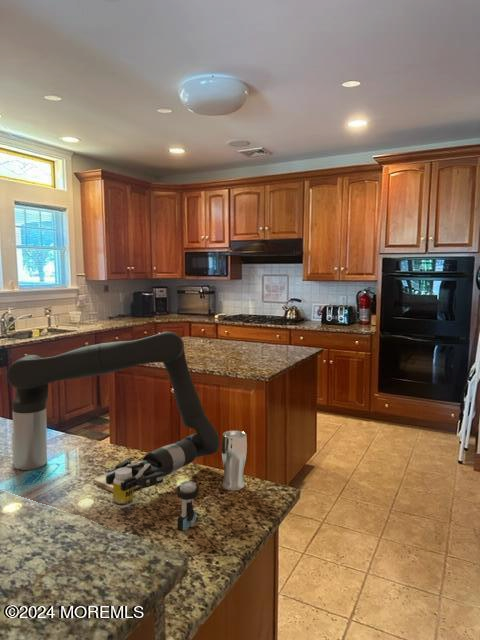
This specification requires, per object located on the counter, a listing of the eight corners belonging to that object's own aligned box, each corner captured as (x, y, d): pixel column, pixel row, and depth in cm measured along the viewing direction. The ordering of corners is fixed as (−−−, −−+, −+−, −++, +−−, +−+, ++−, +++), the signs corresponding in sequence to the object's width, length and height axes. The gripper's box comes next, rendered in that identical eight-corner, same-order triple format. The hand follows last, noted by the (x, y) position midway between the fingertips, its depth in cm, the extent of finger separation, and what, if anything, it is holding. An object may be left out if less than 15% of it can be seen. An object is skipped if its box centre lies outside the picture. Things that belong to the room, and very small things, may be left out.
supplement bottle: (127, 509, 107) (127, 476, 106) (109, 506, 108) (109, 473, 107) (136, 499, 112) (136, 467, 111) (118, 497, 112) (119, 465, 112)
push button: (187, 514, 108) (188, 475, 107) (206, 520, 106) (206, 480, 105) (171, 527, 102) (171, 486, 102) (190, 534, 100) (191, 492, 99)
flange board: (92, 482, 123) (92, 476, 123) (126, 468, 133) (126, 462, 133) (121, 495, 116) (121, 488, 116) (154, 479, 126) (154, 473, 126)
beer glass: (249, 483, 126) (251, 432, 124) (239, 494, 119) (240, 440, 118) (227, 478, 128) (229, 428, 127) (216, 488, 122) (217, 436, 121)
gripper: (146, 441, 124) (95, 460, 111) (184, 454, 116) (134, 477, 102) (146, 466, 125) (95, 489, 111) (183, 482, 117) (134, 508, 103)
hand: (114, 483), depth 107 cm, fingers closed on supplement bottle, 4 cm apart
